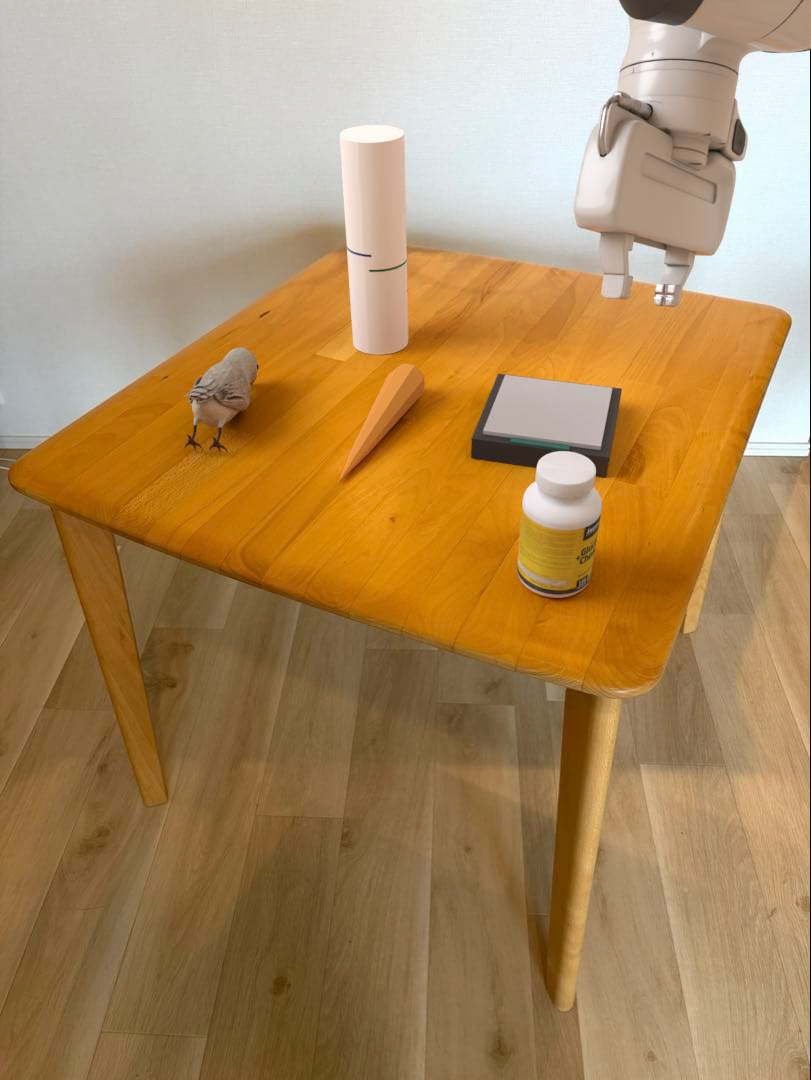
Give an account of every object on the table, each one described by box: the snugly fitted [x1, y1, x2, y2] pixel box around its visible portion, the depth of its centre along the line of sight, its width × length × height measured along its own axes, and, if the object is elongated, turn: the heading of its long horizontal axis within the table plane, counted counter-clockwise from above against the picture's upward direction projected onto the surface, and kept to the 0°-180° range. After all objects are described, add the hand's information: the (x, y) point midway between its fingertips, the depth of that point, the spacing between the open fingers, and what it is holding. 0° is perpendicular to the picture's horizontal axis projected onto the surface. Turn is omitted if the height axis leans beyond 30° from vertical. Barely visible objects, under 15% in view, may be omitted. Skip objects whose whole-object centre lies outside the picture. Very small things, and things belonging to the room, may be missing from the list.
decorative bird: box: [183, 346, 259, 453], centre depth 94 cm, size 5×16×8 cm, turn 169°
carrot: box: [337, 362, 425, 483], centre depth 92 cm, size 20×4×4 cm, turn 158°
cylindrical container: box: [339, 124, 409, 356], centre depth 102 cm, size 7×7×25 cm
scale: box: [470, 373, 623, 478], centre depth 92 cm, size 14×14×3 cm
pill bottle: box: [516, 451, 603, 599], centre depth 71 cm, size 6×6×12 cm
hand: (641, 302), depth 70 cm, fingers open, 8 cm apart
